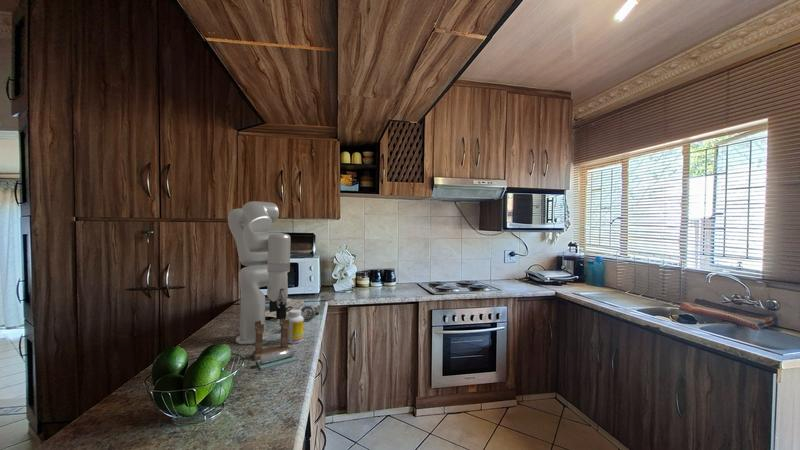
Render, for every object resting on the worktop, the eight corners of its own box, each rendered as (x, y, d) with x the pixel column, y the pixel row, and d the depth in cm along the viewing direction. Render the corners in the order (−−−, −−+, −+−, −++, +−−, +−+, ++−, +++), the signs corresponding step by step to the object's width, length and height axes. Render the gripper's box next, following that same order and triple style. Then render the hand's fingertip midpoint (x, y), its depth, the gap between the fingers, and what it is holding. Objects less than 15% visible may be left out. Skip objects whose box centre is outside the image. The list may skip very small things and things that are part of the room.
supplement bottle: (306, 339, 123) (306, 309, 123) (297, 345, 117) (297, 313, 117) (293, 337, 125) (293, 308, 125) (283, 343, 118) (283, 312, 119)
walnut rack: (252, 354, 107) (253, 321, 107) (285, 347, 115) (286, 316, 115) (255, 360, 102) (256, 325, 103) (290, 352, 110) (290, 319, 110)
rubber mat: (256, 362, 101) (256, 360, 101) (291, 353, 109) (291, 352, 109) (261, 370, 96) (261, 368, 96) (297, 360, 103) (297, 358, 103)
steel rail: (261, 366, 98) (262, 359, 97) (259, 360, 100) (260, 353, 99) (293, 358, 105) (294, 351, 104) (291, 352, 107) (292, 345, 106)
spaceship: (279, 315, 131) (295, 309, 130) (312, 303, 165) (324, 299, 165) (284, 332, 130) (300, 326, 129) (316, 317, 164) (329, 312, 163)
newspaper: (277, 321, 147) (278, 314, 148) (254, 320, 148) (254, 314, 148) (304, 303, 183) (305, 298, 183) (286, 303, 183) (286, 297, 184)
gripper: (262, 265, 107) (260, 310, 107) (273, 272, 94) (272, 324, 94) (282, 264, 112) (281, 307, 112) (296, 270, 98) (295, 319, 98)
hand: (277, 314), depth 103 cm, fingers open, 9 cm apart
